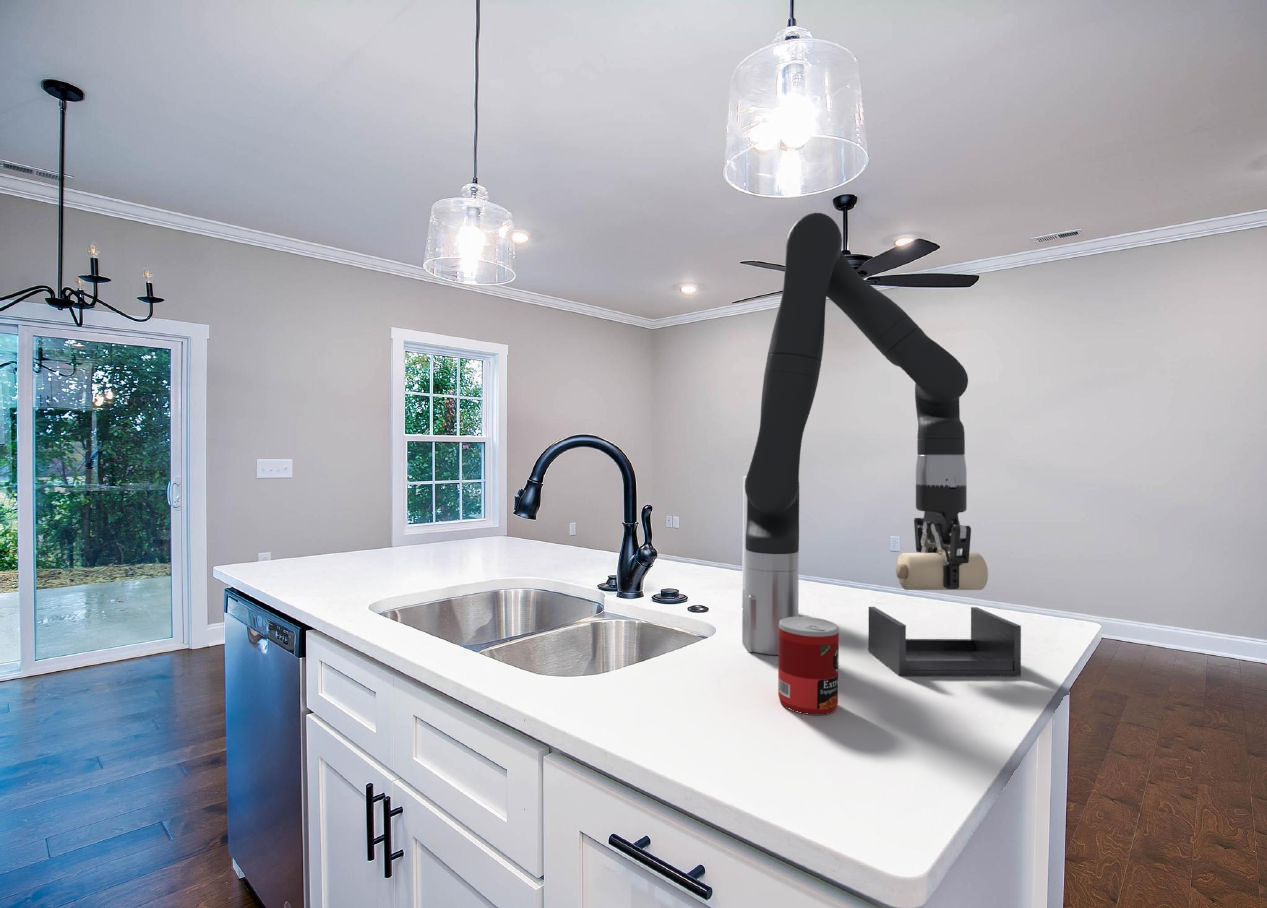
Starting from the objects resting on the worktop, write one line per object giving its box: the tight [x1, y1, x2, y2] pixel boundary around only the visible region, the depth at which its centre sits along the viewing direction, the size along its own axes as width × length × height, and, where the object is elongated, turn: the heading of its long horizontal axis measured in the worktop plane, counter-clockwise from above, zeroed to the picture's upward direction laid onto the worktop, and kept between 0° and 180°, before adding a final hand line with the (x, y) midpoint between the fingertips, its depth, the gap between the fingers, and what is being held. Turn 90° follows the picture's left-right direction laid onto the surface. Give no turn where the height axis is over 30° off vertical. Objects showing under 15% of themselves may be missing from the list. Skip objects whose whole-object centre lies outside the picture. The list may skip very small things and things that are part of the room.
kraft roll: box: [895, 552, 989, 591], centre depth 102 cm, size 14×6×6 cm, turn 91°
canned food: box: [777, 616, 840, 715], centre depth 84 cm, size 8×8×11 cm
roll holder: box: [867, 606, 1022, 677], centre depth 101 cm, size 19×12×8 cm, turn 91°
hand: (940, 584), depth 102 cm, fingers closed on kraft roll, 6 cm apart
